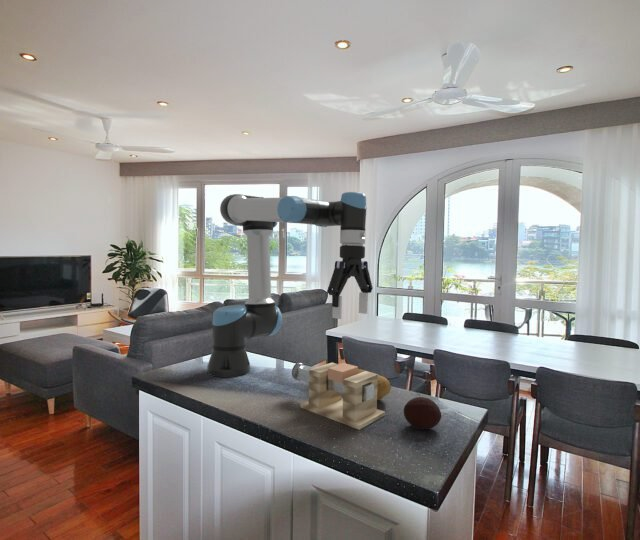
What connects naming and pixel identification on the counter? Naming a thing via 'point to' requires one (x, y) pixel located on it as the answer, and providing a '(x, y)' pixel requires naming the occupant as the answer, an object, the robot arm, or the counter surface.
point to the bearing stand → (348, 407)
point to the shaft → (329, 381)
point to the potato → (380, 386)
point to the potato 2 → (422, 413)
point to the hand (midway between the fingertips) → (350, 315)
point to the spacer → (341, 372)
